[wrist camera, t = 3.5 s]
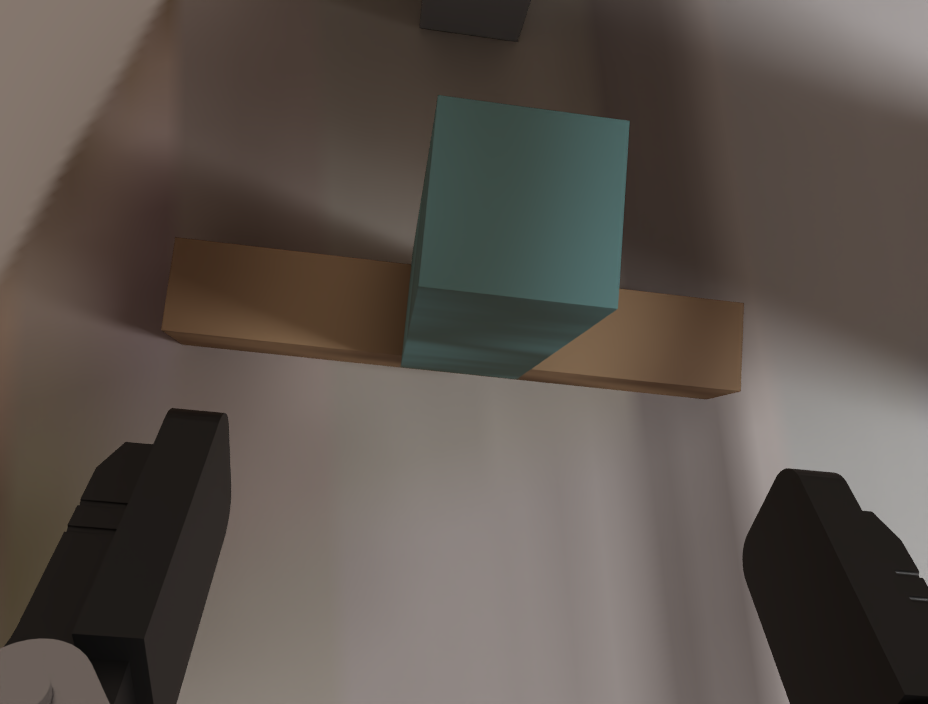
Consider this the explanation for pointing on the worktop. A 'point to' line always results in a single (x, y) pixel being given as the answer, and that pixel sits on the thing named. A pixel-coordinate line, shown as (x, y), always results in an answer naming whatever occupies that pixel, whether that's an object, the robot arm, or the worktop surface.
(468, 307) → the beam
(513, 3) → the block
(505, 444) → the worktop surface
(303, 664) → the worktop surface
